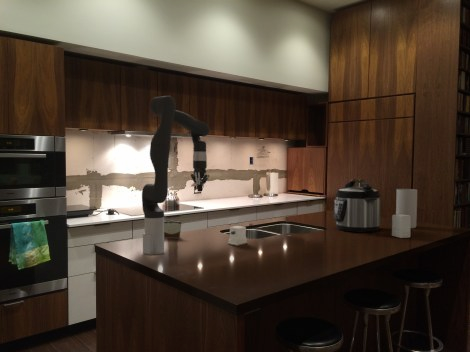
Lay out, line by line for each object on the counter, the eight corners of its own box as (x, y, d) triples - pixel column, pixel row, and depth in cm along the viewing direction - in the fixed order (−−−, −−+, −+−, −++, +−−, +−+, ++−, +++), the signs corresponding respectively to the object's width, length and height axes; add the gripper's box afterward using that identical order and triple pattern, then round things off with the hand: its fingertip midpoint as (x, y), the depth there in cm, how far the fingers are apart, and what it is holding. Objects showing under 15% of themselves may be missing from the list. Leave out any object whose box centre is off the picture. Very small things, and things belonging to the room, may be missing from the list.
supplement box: (410, 237, 226) (411, 215, 225) (400, 238, 223) (401, 216, 223) (401, 234, 233) (401, 213, 232) (391, 235, 230) (391, 214, 230)
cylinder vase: (391, 225, 264) (392, 189, 263) (406, 224, 268) (407, 188, 266) (404, 229, 252) (405, 190, 251) (420, 228, 256) (421, 190, 255)
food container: (184, 236, 226) (184, 219, 226) (182, 238, 220) (182, 220, 220) (163, 235, 228) (163, 218, 227) (160, 237, 221) (160, 220, 221)
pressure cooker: (336, 224, 269) (336, 178, 268) (379, 226, 260) (380, 179, 258) (331, 231, 241) (332, 180, 240) (380, 235, 232) (381, 182, 230)
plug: (236, 245, 201) (236, 229, 201) (227, 243, 205) (227, 227, 204) (245, 242, 207) (245, 227, 206) (237, 241, 211) (237, 225, 210)
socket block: (237, 246, 202) (237, 240, 201) (228, 244, 205) (228, 238, 205) (246, 243, 208) (246, 237, 207) (238, 241, 211) (238, 236, 211)
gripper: (186, 159, 216) (186, 191, 217) (203, 160, 207) (203, 192, 208) (196, 159, 222) (196, 190, 222) (213, 160, 213) (213, 191, 214)
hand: (199, 191), depth 215 cm, fingers closed
